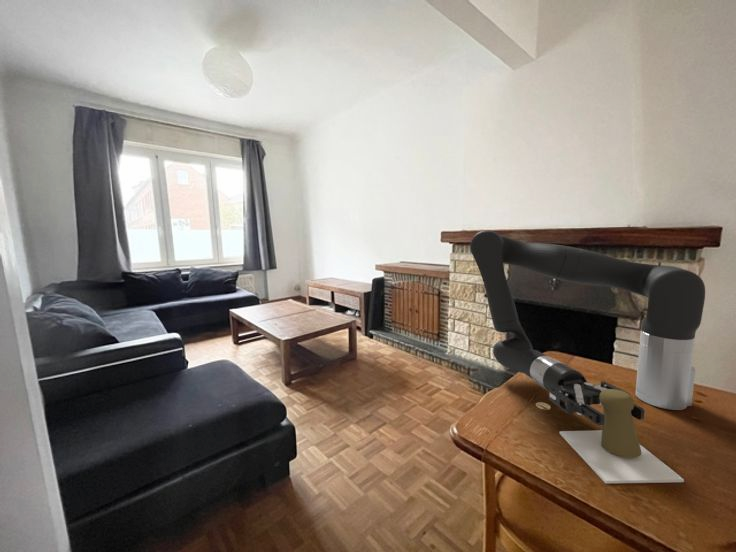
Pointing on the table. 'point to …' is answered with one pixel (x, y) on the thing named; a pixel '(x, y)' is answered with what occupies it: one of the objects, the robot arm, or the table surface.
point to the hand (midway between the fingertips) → (623, 418)
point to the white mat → (618, 461)
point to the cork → (619, 424)
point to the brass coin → (543, 406)
